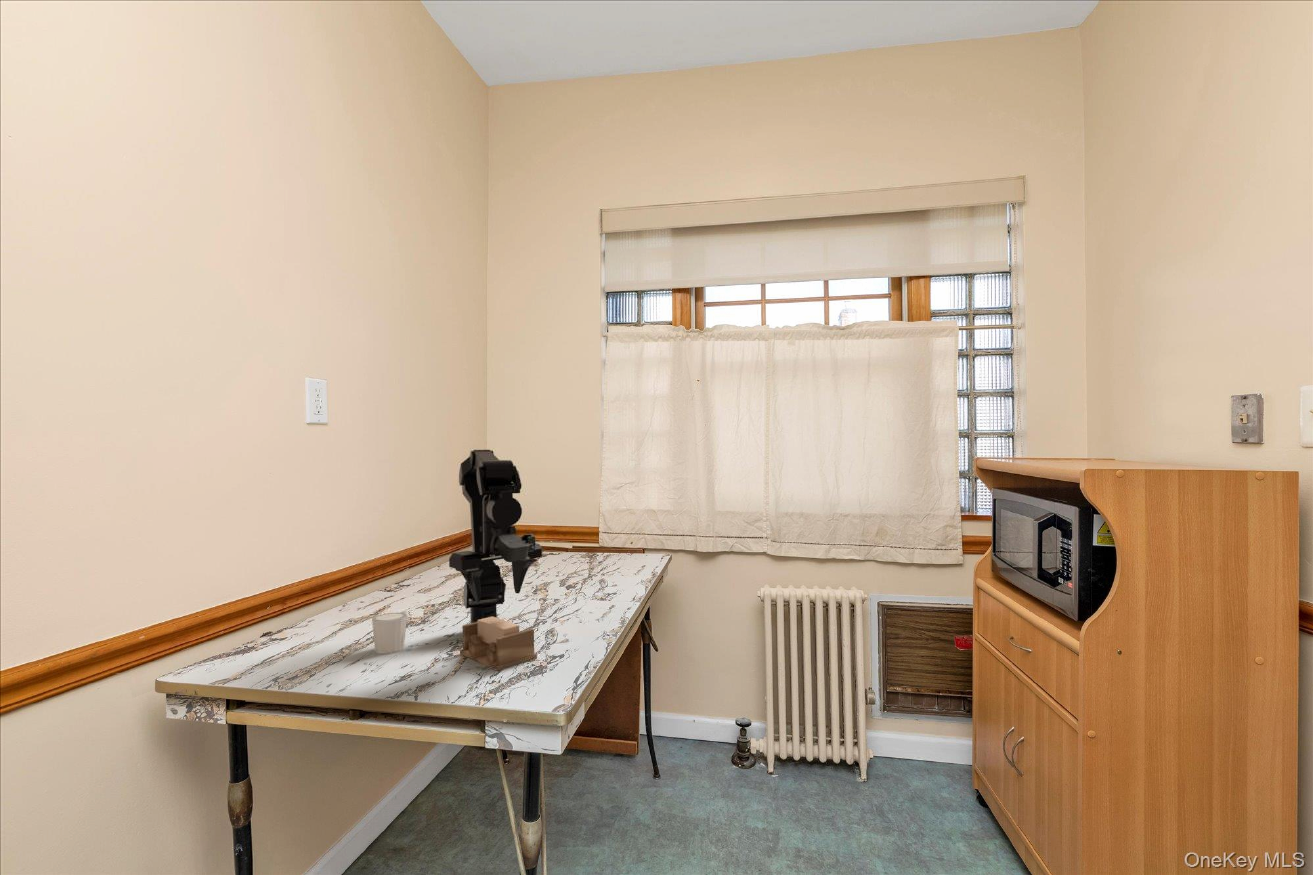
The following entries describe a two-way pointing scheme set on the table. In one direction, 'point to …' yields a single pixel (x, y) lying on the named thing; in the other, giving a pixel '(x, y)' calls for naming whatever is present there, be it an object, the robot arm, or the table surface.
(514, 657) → the rack
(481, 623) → the tan rectangular block
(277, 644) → the table surface
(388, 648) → the white tapered cup
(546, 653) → the table surface
